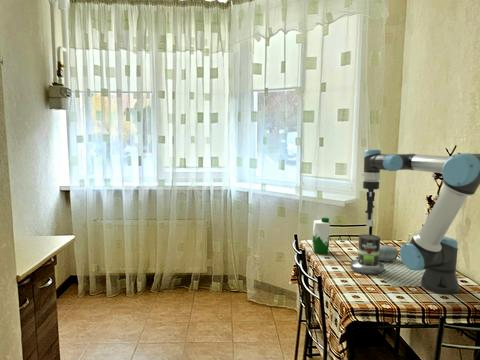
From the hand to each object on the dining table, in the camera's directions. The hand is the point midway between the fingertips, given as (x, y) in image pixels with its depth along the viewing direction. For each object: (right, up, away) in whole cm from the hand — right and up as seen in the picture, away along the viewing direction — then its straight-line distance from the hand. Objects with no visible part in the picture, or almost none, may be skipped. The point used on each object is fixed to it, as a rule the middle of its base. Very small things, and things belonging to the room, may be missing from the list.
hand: (369, 223), depth 188 cm
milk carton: (-18, -20, +31) cm, 41 cm away
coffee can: (0, -21, +2) cm, 21 cm away
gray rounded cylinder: (+14, -22, +17) cm, 32 cm away
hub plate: (0, -24, +3) cm, 24 cm away
